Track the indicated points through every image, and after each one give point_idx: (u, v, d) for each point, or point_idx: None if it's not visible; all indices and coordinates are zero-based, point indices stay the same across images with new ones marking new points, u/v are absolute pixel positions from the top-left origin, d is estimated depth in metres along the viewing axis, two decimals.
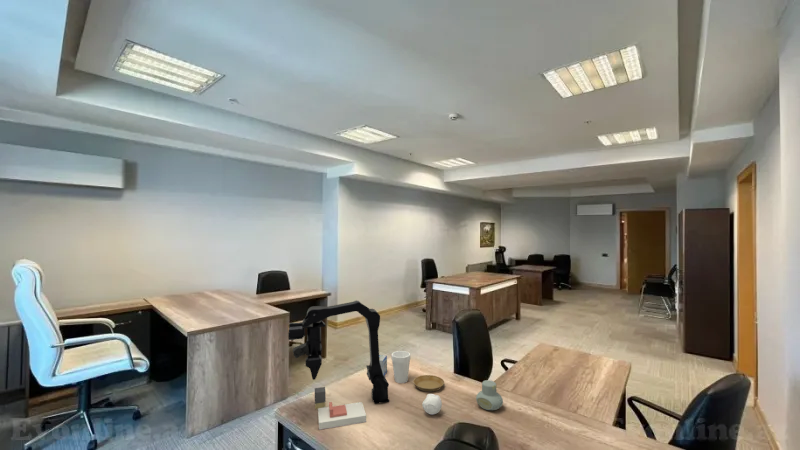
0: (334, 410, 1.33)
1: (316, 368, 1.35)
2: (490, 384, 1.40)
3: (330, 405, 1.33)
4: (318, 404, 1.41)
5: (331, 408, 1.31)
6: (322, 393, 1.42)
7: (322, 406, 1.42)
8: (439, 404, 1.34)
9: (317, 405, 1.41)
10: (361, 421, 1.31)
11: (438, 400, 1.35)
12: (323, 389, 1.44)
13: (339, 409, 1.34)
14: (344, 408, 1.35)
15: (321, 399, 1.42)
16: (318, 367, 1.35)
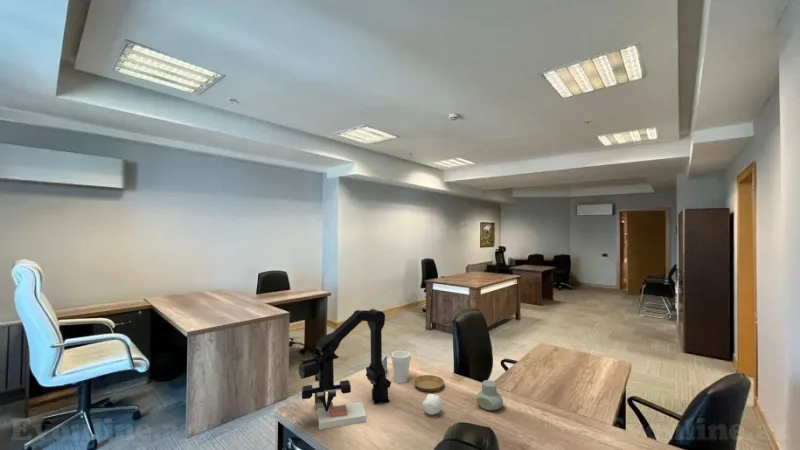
0: (334, 410, 1.33)
1: None
2: (490, 384, 1.40)
3: (330, 405, 1.33)
4: (318, 404, 1.41)
5: (331, 408, 1.31)
6: None
7: (322, 406, 1.42)
8: (439, 404, 1.34)
9: (317, 405, 1.41)
10: (361, 421, 1.31)
11: (438, 400, 1.35)
12: None
13: (339, 409, 1.34)
14: (344, 408, 1.35)
15: None
16: None
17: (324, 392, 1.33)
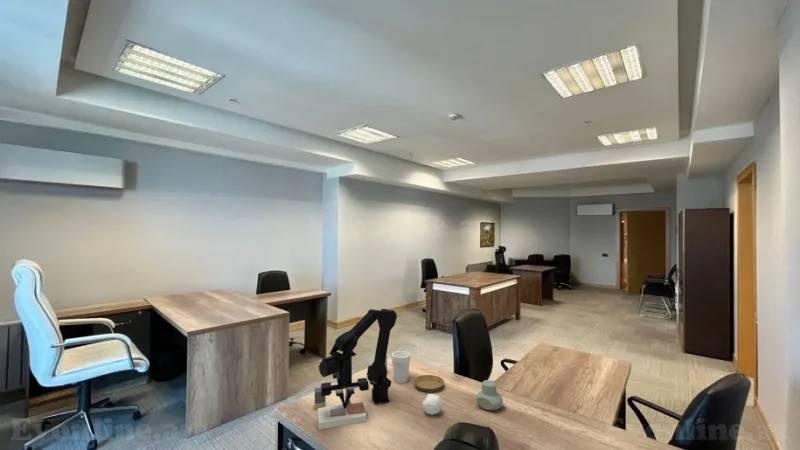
0: (352, 407, 1.35)
1: None
2: (490, 384, 1.40)
3: (348, 402, 1.35)
4: (318, 404, 1.41)
5: (350, 405, 1.33)
6: None
7: (322, 406, 1.42)
8: (439, 404, 1.34)
9: (317, 405, 1.41)
10: (361, 421, 1.31)
11: (438, 400, 1.35)
12: None
13: (357, 406, 1.36)
14: (362, 405, 1.37)
15: (321, 399, 1.42)
16: None
17: None
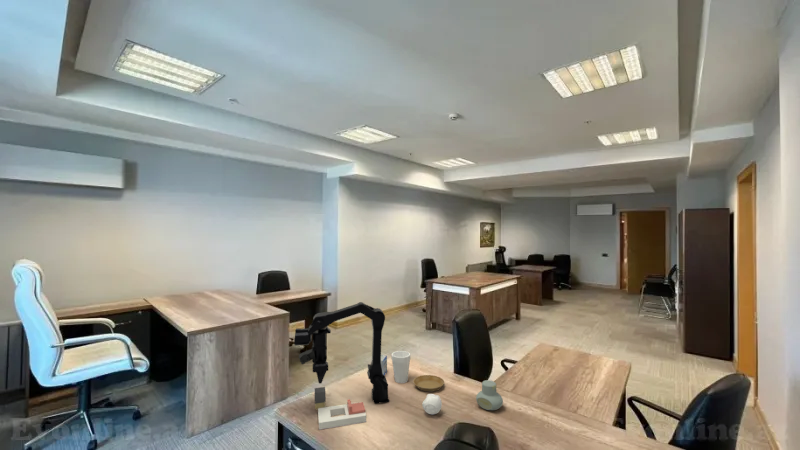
0: (353, 407, 1.35)
1: (322, 372, 1.40)
2: (490, 384, 1.40)
3: (349, 402, 1.35)
4: (318, 404, 1.41)
5: (350, 405, 1.33)
6: (322, 393, 1.42)
7: (322, 406, 1.42)
8: (439, 404, 1.34)
9: (317, 405, 1.41)
10: (361, 421, 1.31)
11: (438, 400, 1.35)
12: (323, 389, 1.44)
13: (357, 406, 1.36)
14: (362, 405, 1.37)
15: (321, 399, 1.42)
16: (324, 371, 1.40)
17: None
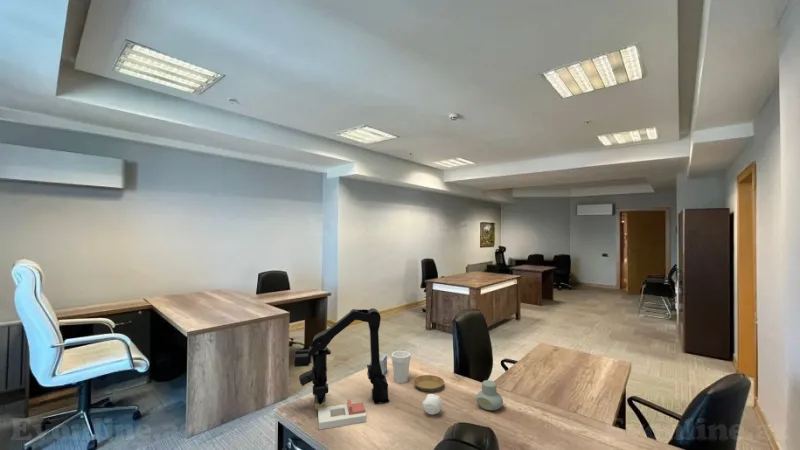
0: (353, 407, 1.35)
1: (322, 393, 1.40)
2: (490, 384, 1.40)
3: (349, 402, 1.35)
4: (318, 404, 1.41)
5: (350, 405, 1.33)
6: None
7: (322, 406, 1.42)
8: (439, 404, 1.34)
9: (317, 405, 1.41)
10: (361, 421, 1.31)
11: (438, 400, 1.35)
12: None
13: (357, 406, 1.36)
14: (362, 405, 1.37)
15: None
16: None
17: None
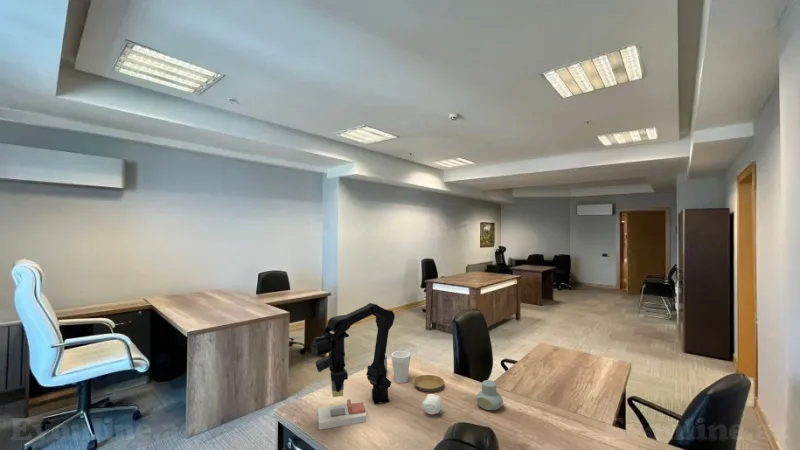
0: (353, 407, 1.35)
1: (341, 380, 1.31)
2: (490, 384, 1.40)
3: (349, 402, 1.35)
4: (336, 392, 1.32)
5: (350, 405, 1.33)
6: None
7: (340, 394, 1.32)
8: (439, 404, 1.34)
9: (334, 393, 1.32)
10: (361, 421, 1.31)
11: (438, 400, 1.35)
12: None
13: (357, 406, 1.36)
14: (362, 405, 1.37)
15: None
16: None
17: None
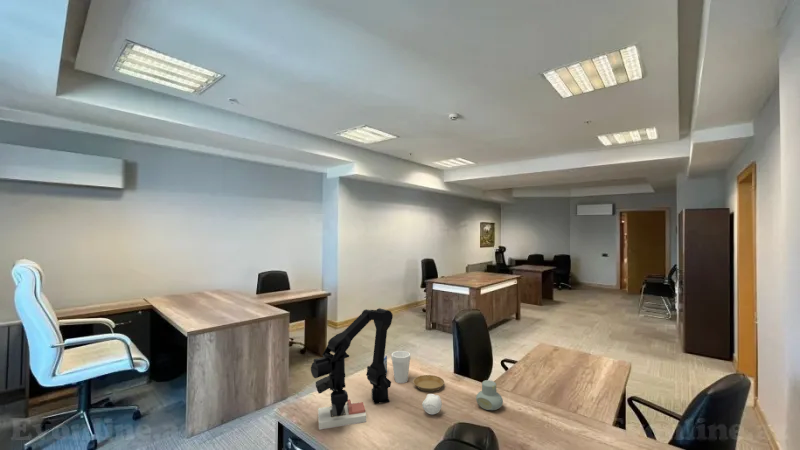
0: (353, 407, 1.35)
1: (341, 404, 1.28)
2: (490, 384, 1.40)
3: (349, 402, 1.35)
4: None
5: (350, 405, 1.33)
6: None
7: None
8: (439, 404, 1.34)
9: None
10: (361, 421, 1.31)
11: (438, 400, 1.35)
12: None
13: (357, 406, 1.36)
14: (362, 405, 1.37)
15: None
16: (344, 403, 1.28)
17: None
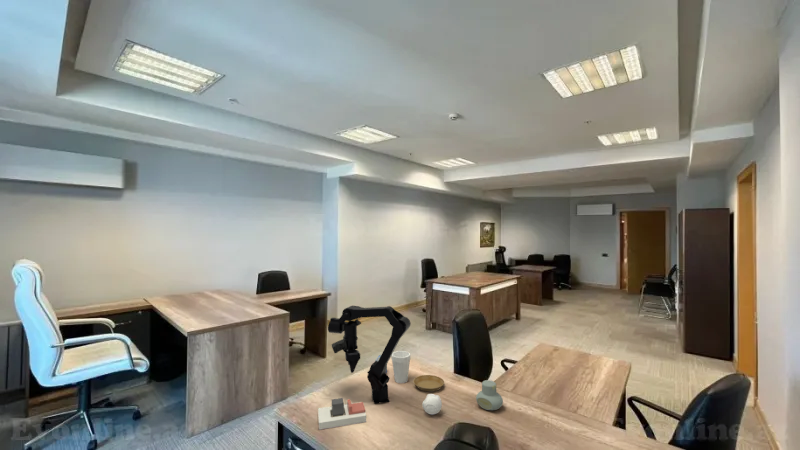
0: (353, 407, 1.35)
1: (354, 362, 1.48)
2: (490, 384, 1.40)
3: (349, 402, 1.35)
4: None
5: (350, 405, 1.33)
6: (340, 405, 1.32)
7: None
8: (439, 404, 1.34)
9: None
10: (361, 421, 1.31)
11: (438, 400, 1.35)
12: (341, 400, 1.34)
13: (357, 406, 1.36)
14: (362, 405, 1.37)
15: (340, 412, 1.32)
16: (356, 361, 1.48)
17: None
